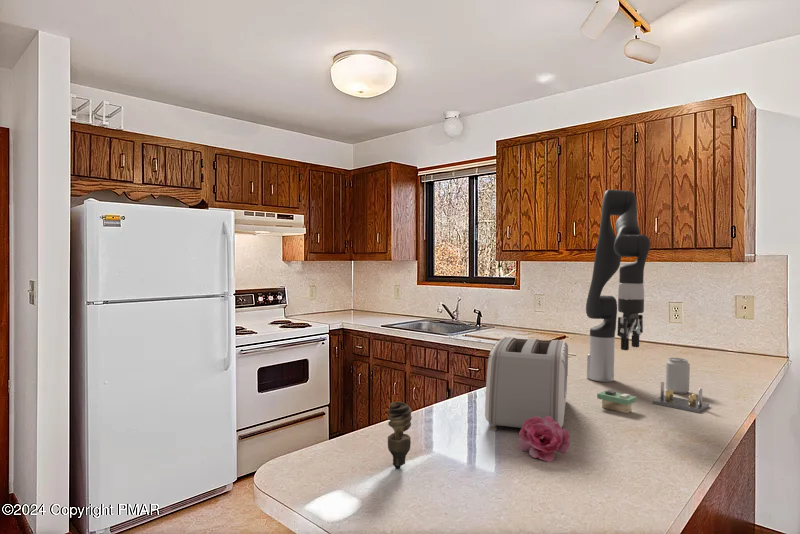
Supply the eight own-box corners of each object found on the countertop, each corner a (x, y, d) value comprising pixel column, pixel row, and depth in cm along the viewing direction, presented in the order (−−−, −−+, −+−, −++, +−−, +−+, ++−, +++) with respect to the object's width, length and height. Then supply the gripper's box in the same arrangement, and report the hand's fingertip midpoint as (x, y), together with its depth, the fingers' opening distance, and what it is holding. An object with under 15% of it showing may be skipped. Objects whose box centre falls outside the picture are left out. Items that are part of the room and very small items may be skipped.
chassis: (652, 403, 173) (652, 383, 173) (663, 397, 180) (664, 379, 180) (699, 412, 163) (699, 392, 163) (709, 406, 170) (709, 386, 170)
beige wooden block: (602, 407, 168) (602, 398, 168) (606, 405, 170) (606, 396, 170) (627, 413, 162) (627, 403, 162) (631, 411, 164) (631, 401, 164)
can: (692, 394, 185) (692, 361, 185) (669, 393, 186) (669, 360, 186) (685, 389, 192) (685, 357, 192) (663, 388, 194) (663, 356, 193)
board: (597, 398, 167) (597, 391, 167) (605, 395, 172) (605, 388, 172) (628, 405, 160) (628, 397, 160) (636, 401, 164) (636, 394, 164)
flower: (555, 477, 122) (533, 445, 120) (528, 465, 131) (508, 435, 129) (584, 443, 126) (564, 412, 124) (556, 434, 135) (537, 404, 133)
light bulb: (386, 463, 121) (386, 398, 120) (409, 462, 121) (410, 398, 121) (387, 473, 115) (388, 405, 115) (412, 472, 116) (413, 405, 115)
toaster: (567, 397, 180) (568, 332, 179) (563, 440, 137) (565, 355, 137) (504, 391, 187) (505, 329, 186) (482, 430, 144) (483, 350, 144)
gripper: (627, 296, 173) (627, 344, 174) (609, 297, 163) (609, 349, 163) (651, 297, 168) (650, 347, 168) (634, 299, 158) (633, 352, 158)
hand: (630, 348), depth 166 cm, fingers open, 8 cm apart
